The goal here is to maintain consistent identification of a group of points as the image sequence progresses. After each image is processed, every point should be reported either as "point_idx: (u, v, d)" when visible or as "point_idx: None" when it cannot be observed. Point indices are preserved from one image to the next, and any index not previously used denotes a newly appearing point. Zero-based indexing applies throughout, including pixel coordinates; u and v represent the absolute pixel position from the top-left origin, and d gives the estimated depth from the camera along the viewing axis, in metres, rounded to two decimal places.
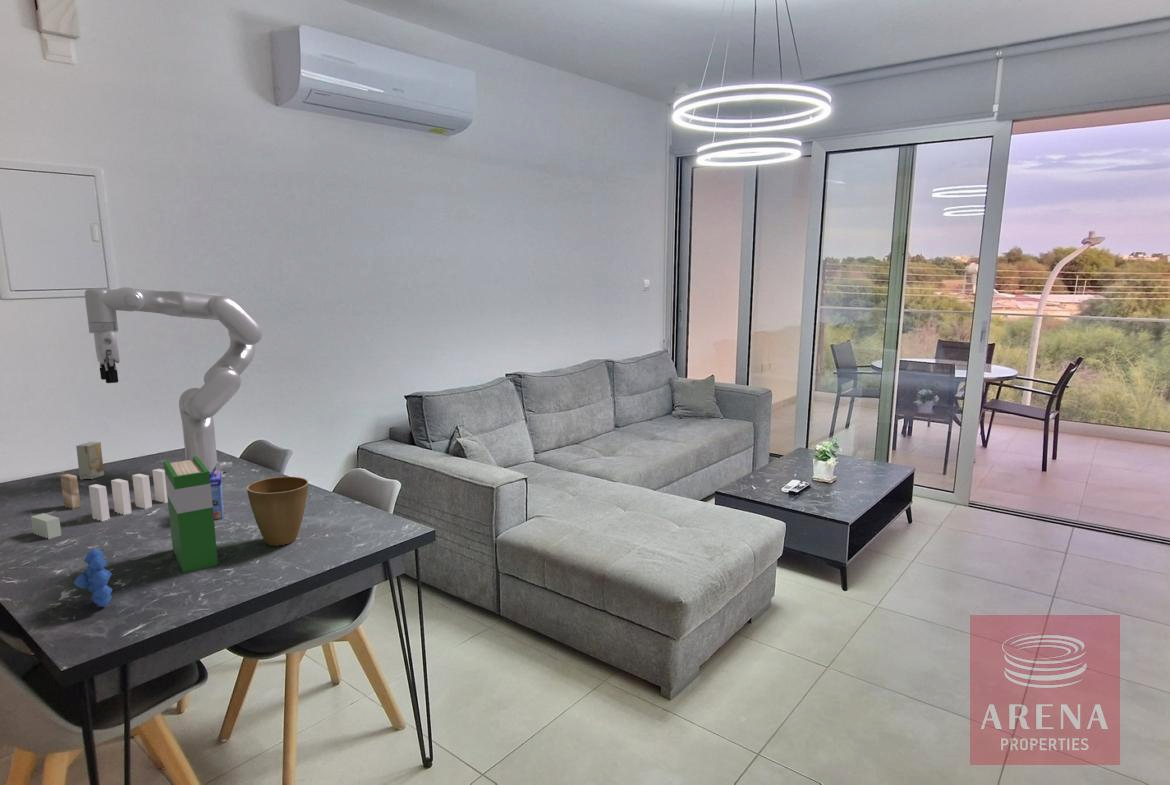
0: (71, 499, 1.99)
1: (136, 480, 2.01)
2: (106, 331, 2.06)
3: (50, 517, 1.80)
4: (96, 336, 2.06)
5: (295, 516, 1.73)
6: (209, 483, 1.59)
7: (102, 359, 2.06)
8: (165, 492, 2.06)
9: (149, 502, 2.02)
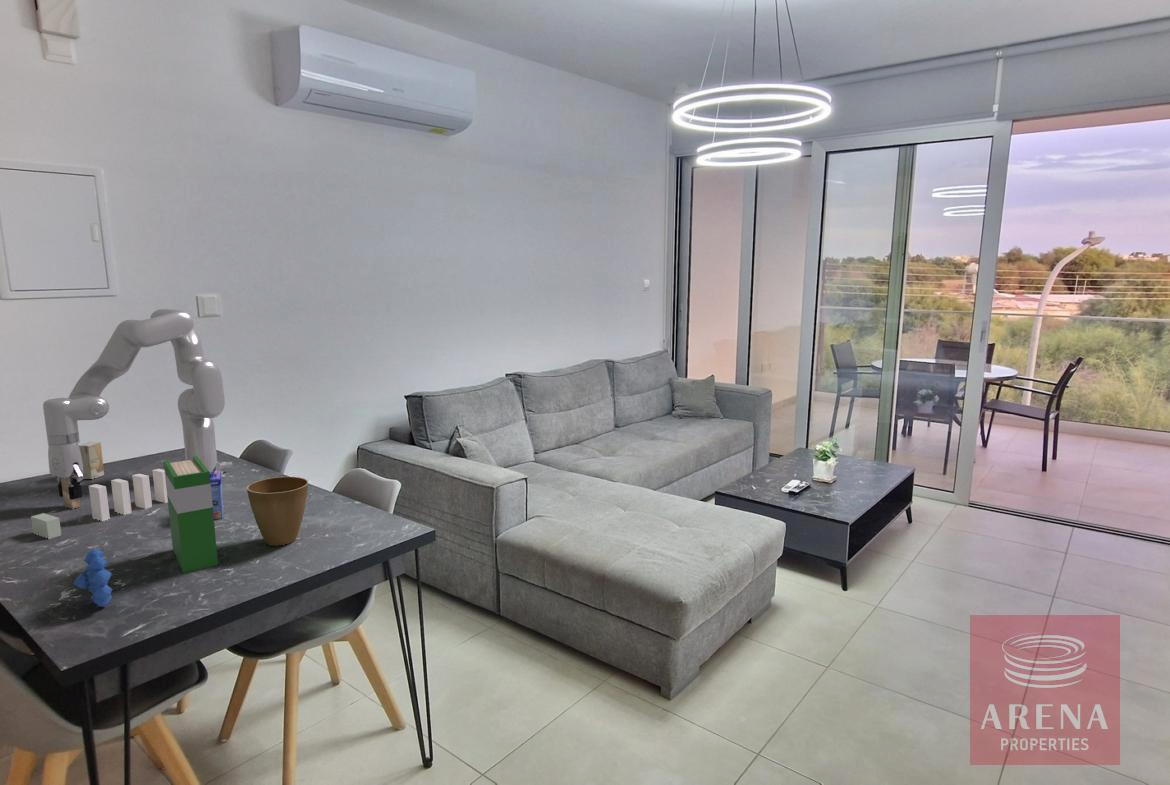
0: None
1: (136, 480, 2.01)
2: None
3: (50, 517, 1.80)
4: None
5: (295, 516, 1.73)
6: (209, 483, 1.59)
7: None
8: (165, 492, 2.06)
9: (149, 502, 2.02)
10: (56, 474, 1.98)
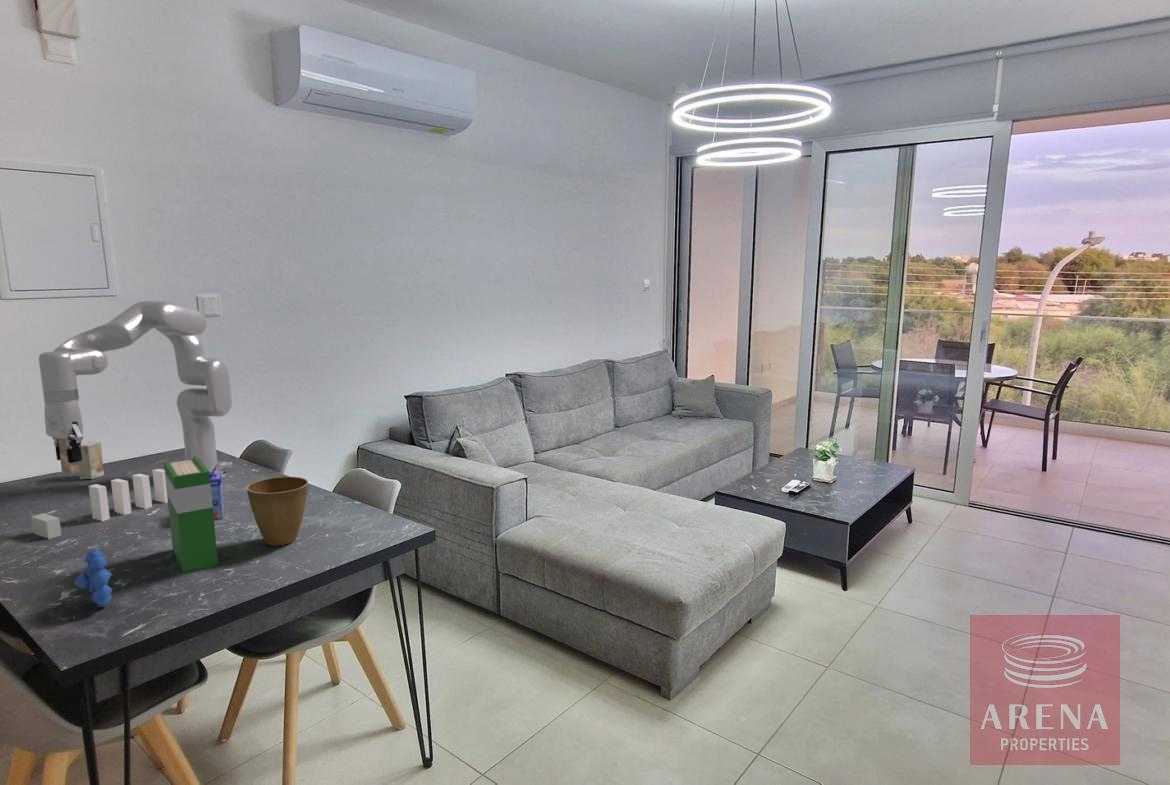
0: None
1: (136, 480, 2.01)
2: None
3: (50, 517, 1.80)
4: None
5: (295, 516, 1.73)
6: (209, 483, 1.59)
7: None
8: (165, 492, 2.06)
9: (149, 502, 2.02)
10: (53, 435, 1.80)
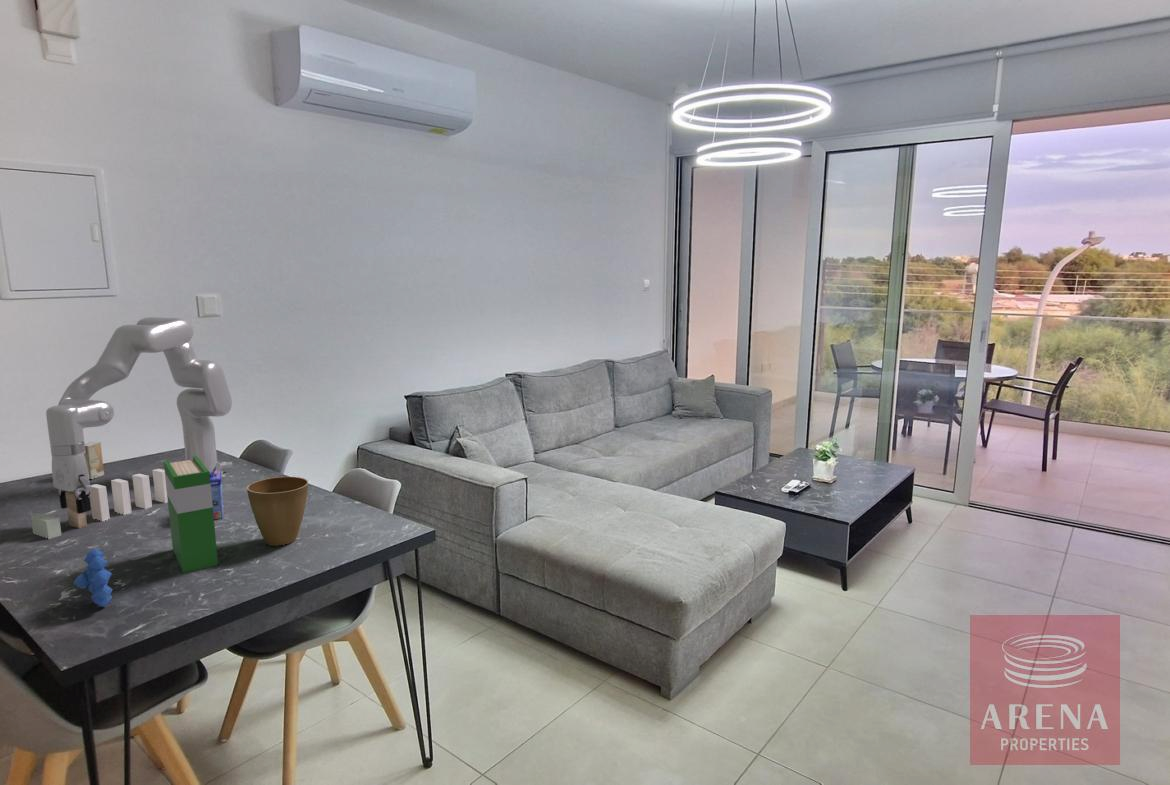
0: (77, 517, 1.85)
1: (136, 480, 2.01)
2: None
3: (50, 517, 1.80)
4: None
5: (295, 516, 1.73)
6: (209, 483, 1.59)
7: None
8: (165, 492, 2.06)
9: (149, 502, 2.02)
10: (60, 487, 1.83)
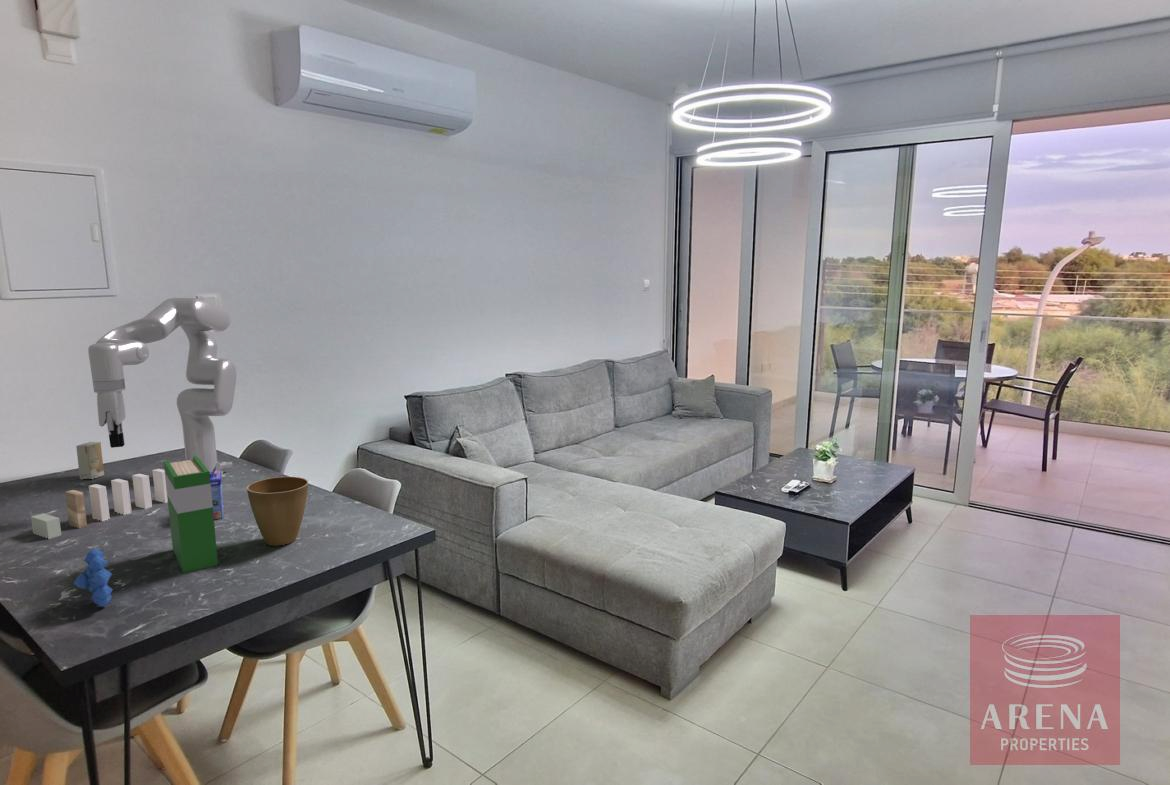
0: (77, 517, 1.85)
1: (136, 480, 2.01)
2: None
3: (50, 517, 1.80)
4: (121, 392, 1.95)
5: (295, 516, 1.73)
6: (209, 483, 1.59)
7: None
8: (165, 492, 2.06)
9: (149, 502, 2.02)
10: None
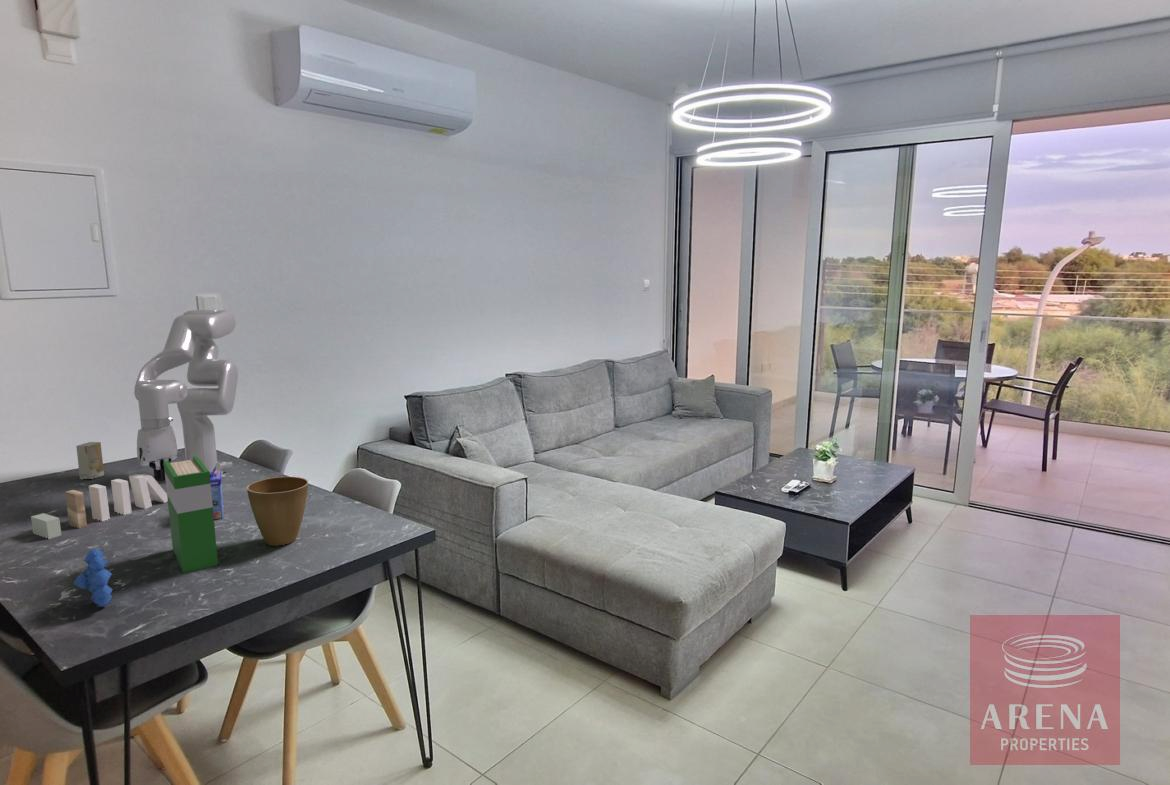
0: (77, 517, 1.85)
1: (133, 481, 2.00)
2: None
3: (50, 517, 1.80)
4: (168, 430, 2.05)
5: (295, 516, 1.73)
6: (209, 483, 1.59)
7: None
8: (160, 494, 2.04)
9: (148, 502, 2.02)
10: None
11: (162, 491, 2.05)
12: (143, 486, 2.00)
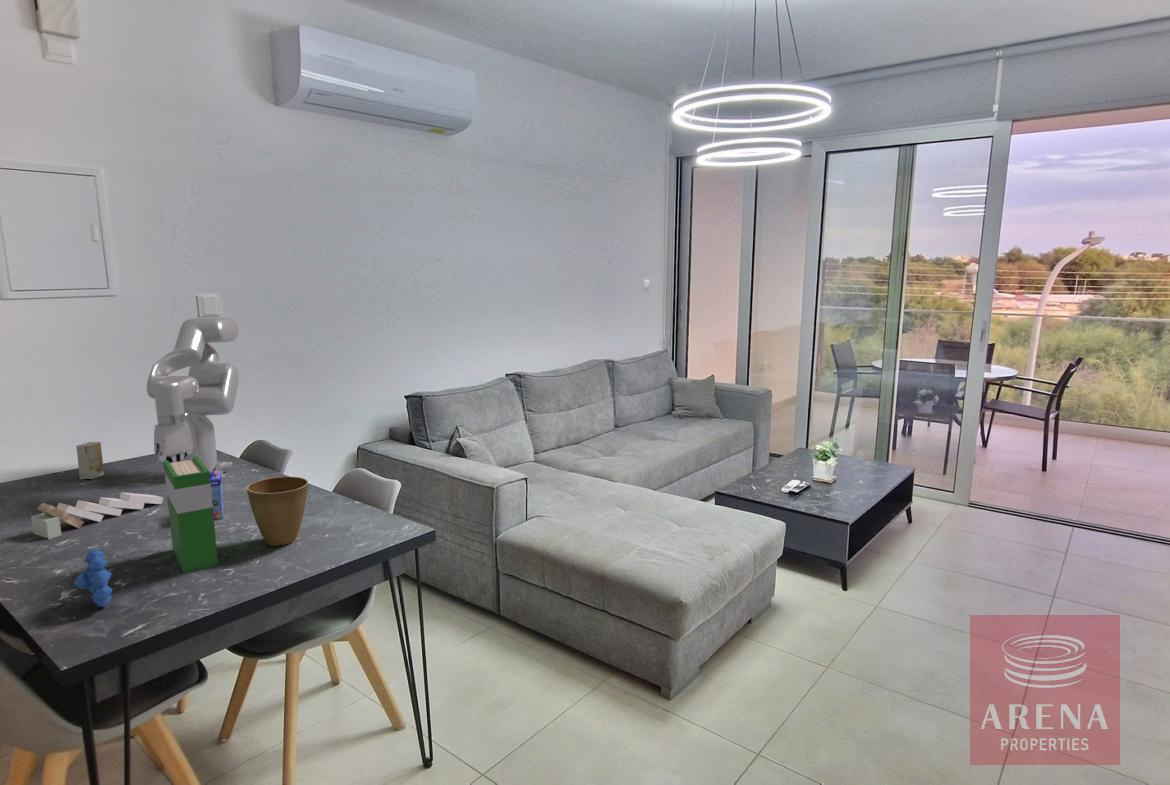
0: (68, 523, 1.83)
1: None
2: None
3: (50, 517, 1.80)
4: (184, 426, 2.10)
5: (295, 516, 1.73)
6: (209, 483, 1.59)
7: (192, 445, 2.14)
8: (151, 502, 2.02)
9: (138, 504, 1.99)
10: None
11: (151, 498, 2.02)
12: (119, 504, 1.94)
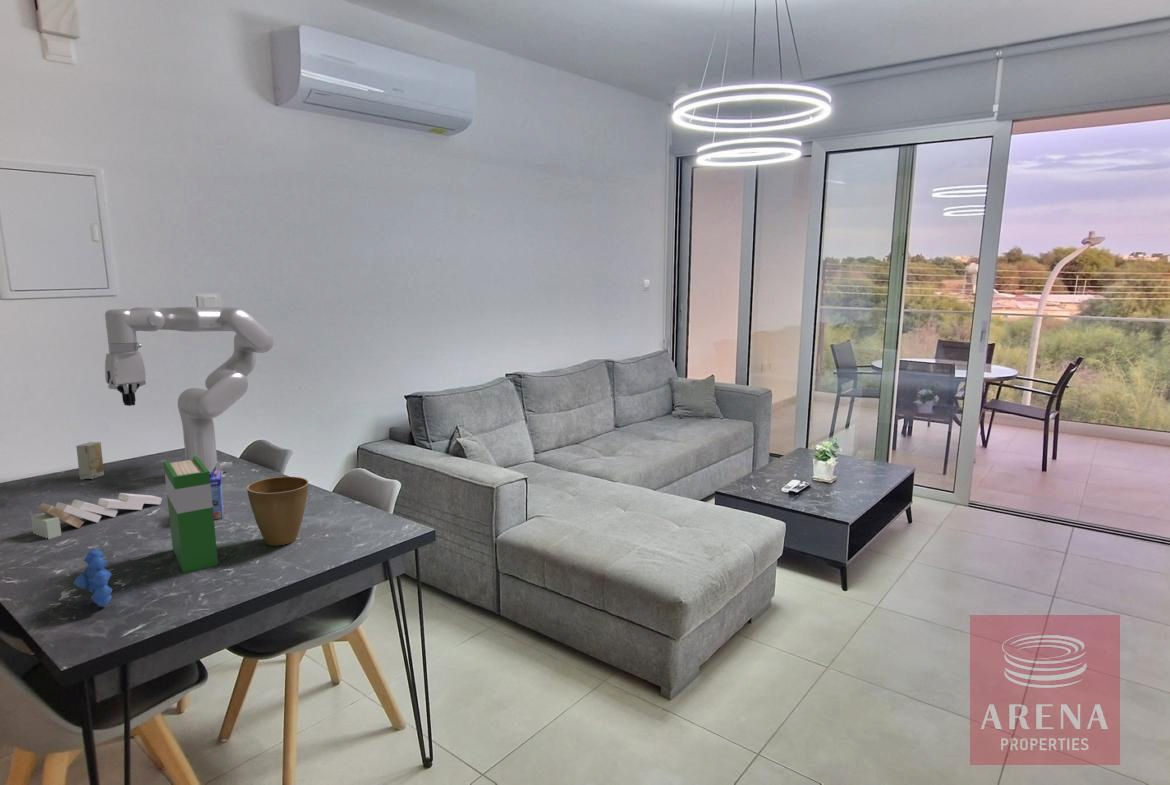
0: (68, 523, 1.83)
1: None
2: None
3: (50, 517, 1.80)
4: (136, 355, 2.10)
5: (295, 516, 1.73)
6: (209, 483, 1.59)
7: (145, 376, 2.14)
8: (149, 502, 2.02)
9: (137, 505, 1.99)
10: None
11: (149, 498, 2.02)
12: (118, 505, 1.94)
